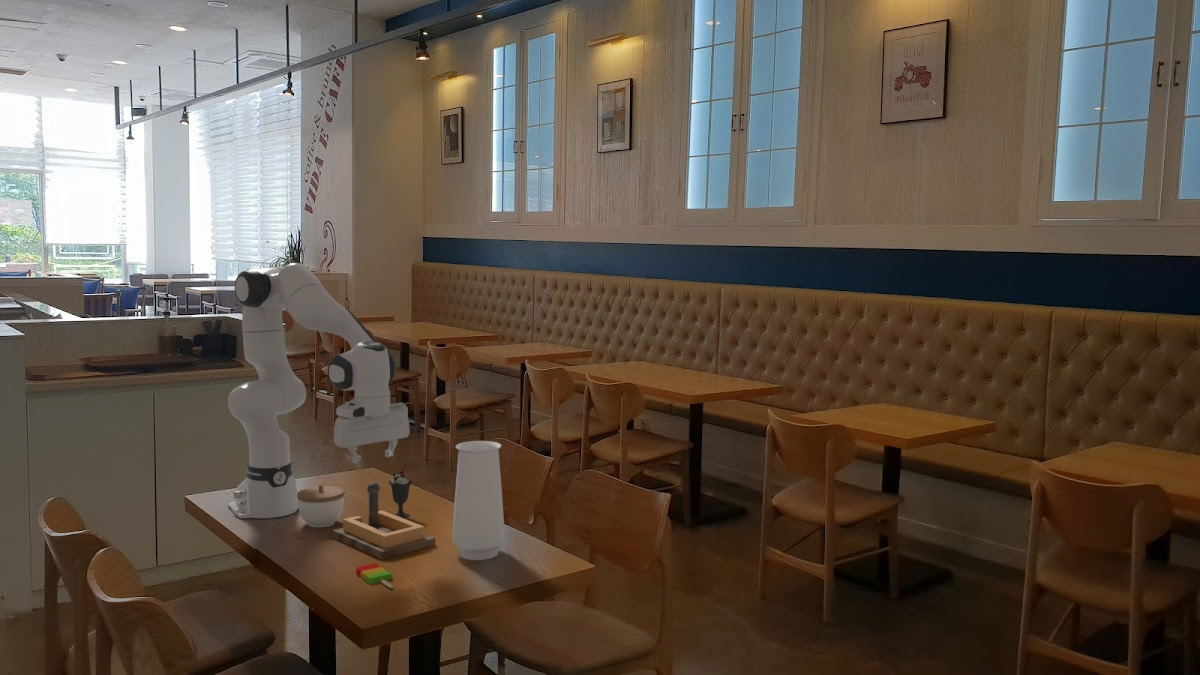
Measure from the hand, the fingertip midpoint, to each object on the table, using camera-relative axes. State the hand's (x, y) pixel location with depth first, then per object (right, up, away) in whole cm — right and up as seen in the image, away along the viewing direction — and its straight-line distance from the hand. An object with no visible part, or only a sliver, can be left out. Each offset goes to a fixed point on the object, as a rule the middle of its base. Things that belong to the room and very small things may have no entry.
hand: (373, 459), depth 235 cm
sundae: (0, -21, +31) cm, 37 cm away
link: (+1, -21, +8) cm, 22 cm away
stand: (+1, -23, +8) cm, 24 cm away
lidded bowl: (-20, -21, +23) cm, 37 cm away
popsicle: (+6, -26, -19) cm, 33 cm away
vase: (+27, -24, -1) cm, 36 cm away
